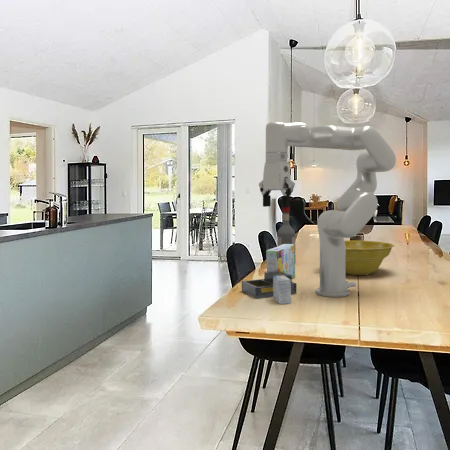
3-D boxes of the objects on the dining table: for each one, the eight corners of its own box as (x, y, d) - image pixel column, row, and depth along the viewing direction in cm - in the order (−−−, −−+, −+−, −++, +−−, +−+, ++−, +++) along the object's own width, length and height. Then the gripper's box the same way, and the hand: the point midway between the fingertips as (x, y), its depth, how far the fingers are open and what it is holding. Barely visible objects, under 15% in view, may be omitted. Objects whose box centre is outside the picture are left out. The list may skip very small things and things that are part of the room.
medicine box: (291, 303, 165) (291, 279, 164) (278, 304, 164) (278, 280, 163) (284, 298, 172) (284, 275, 171) (272, 299, 172) (272, 275, 171)
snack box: (283, 276, 212) (283, 243, 211) (295, 277, 209) (295, 244, 208) (265, 286, 193) (265, 249, 192) (278, 287, 191) (278, 250, 189)
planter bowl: (321, 265, 237) (321, 239, 236) (388, 267, 230) (389, 240, 229) (321, 278, 206) (321, 248, 204) (399, 280, 199) (399, 249, 198)
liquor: (294, 262, 249) (294, 205, 246) (295, 265, 240) (295, 206, 237) (277, 262, 250) (277, 205, 247) (277, 265, 241) (277, 206, 238)
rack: (279, 286, 191) (279, 269, 190) (296, 293, 179) (296, 275, 178) (241, 291, 184) (241, 273, 184) (256, 298, 172) (256, 280, 172)
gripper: (301, 157, 160) (301, 207, 161) (267, 159, 174) (267, 205, 175) (286, 156, 155) (285, 208, 157) (252, 159, 169) (252, 206, 171)
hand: (275, 206), depth 166 cm, fingers open, 9 cm apart
